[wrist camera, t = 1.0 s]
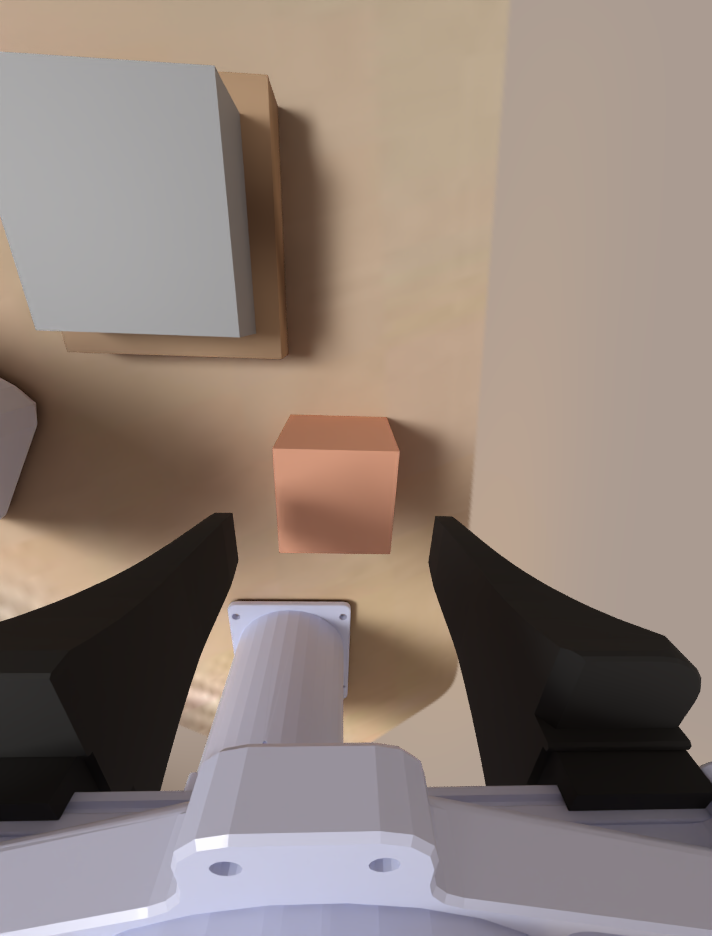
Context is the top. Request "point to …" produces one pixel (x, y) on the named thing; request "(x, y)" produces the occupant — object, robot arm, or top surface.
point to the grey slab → (125, 196)
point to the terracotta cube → (335, 484)
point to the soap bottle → (14, 438)
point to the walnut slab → (264, 242)
